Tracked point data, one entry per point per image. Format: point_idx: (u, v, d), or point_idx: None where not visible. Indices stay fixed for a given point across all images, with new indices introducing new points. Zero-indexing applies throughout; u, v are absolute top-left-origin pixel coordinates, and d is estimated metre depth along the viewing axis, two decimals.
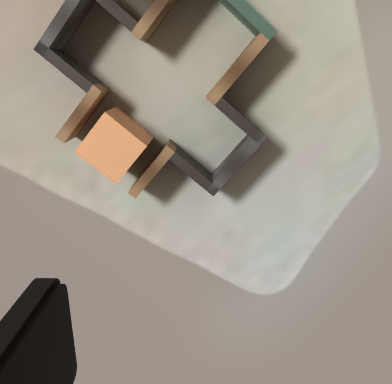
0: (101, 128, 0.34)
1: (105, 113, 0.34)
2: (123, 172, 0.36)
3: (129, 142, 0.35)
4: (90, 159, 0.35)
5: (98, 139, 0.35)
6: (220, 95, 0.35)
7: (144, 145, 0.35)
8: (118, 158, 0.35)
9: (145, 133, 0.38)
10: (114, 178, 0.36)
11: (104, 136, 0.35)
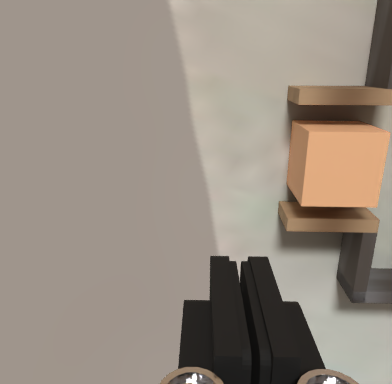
0: (365, 143, 0.23)
1: (388, 134, 0.23)
2: (323, 204, 0.24)
3: (368, 185, 0.24)
4: (312, 156, 0.23)
5: (347, 148, 0.23)
6: None
7: (375, 204, 0.24)
8: (337, 187, 0.24)
9: None
10: (307, 199, 0.24)
11: (356, 153, 0.23)
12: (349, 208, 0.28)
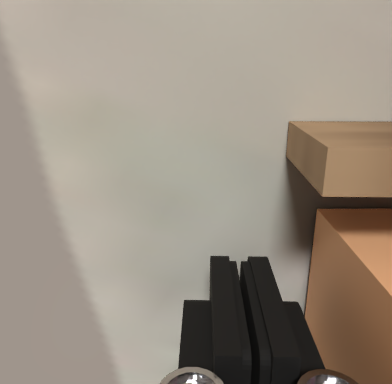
0: None
1: None
2: None
3: None
4: None
5: None
6: None
7: None
8: None
9: None
10: None
11: None
12: None
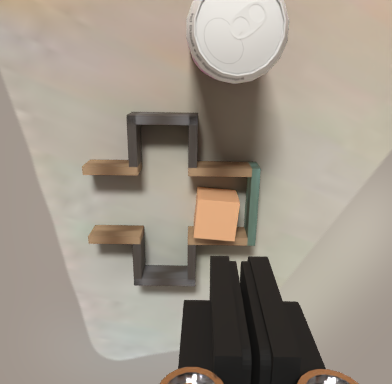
0: (227, 207, 0.43)
1: (239, 204, 0.43)
2: (205, 237, 0.44)
3: (229, 229, 0.44)
4: (199, 212, 0.43)
5: (217, 209, 0.43)
6: (196, 243, 0.46)
7: (233, 239, 0.44)
8: (212, 229, 0.44)
9: None
10: (197, 234, 0.44)
11: (222, 212, 0.43)
12: (132, 229, 0.48)
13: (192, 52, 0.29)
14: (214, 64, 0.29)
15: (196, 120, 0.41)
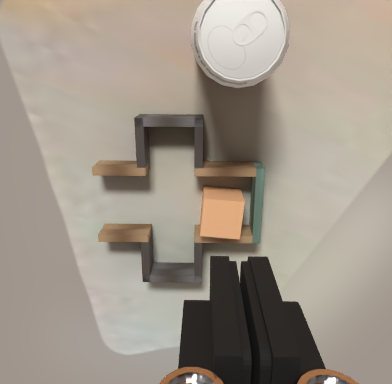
0: (232, 206, 0.44)
1: (244, 203, 0.44)
2: (211, 235, 0.46)
3: (234, 228, 0.45)
4: (205, 211, 0.45)
5: (223, 208, 0.44)
6: (202, 241, 0.47)
7: (239, 237, 0.46)
8: (218, 227, 0.45)
9: None
10: (203, 232, 0.46)
11: (227, 211, 0.45)
12: (140, 228, 0.49)
13: (197, 58, 0.31)
14: (218, 70, 0.30)
15: (202, 122, 0.42)
